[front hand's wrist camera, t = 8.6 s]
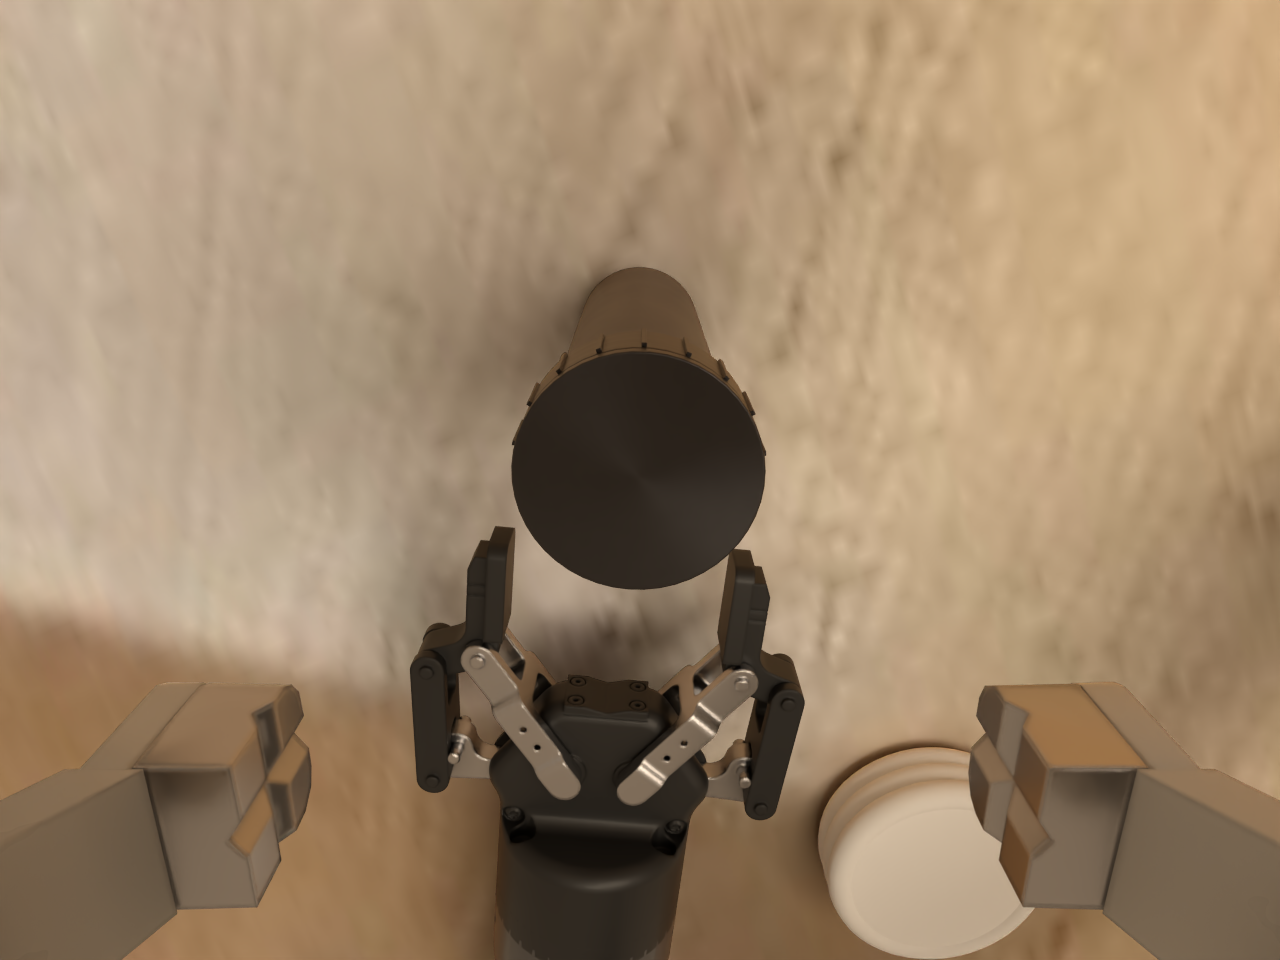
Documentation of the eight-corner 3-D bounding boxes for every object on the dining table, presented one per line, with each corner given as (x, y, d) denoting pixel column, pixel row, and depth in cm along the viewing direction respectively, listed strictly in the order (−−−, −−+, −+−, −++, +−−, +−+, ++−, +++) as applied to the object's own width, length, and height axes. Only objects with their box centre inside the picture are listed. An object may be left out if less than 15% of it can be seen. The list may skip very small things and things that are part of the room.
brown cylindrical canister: (593, 255, 34) (554, 345, 18) (709, 281, 34) (767, 392, 18) (571, 369, 35) (517, 542, 20) (682, 393, 35) (714, 581, 20)
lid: (543, 304, 20) (531, 322, 17) (784, 357, 20) (800, 381, 18) (503, 524, 21) (488, 565, 19) (724, 569, 22) (732, 613, 20)
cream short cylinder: (1054, 853, 43) (1088, 911, 40) (872, 933, 45) (890, 995, 42) (970, 707, 40) (999, 756, 37) (778, 799, 42) (790, 854, 39)
